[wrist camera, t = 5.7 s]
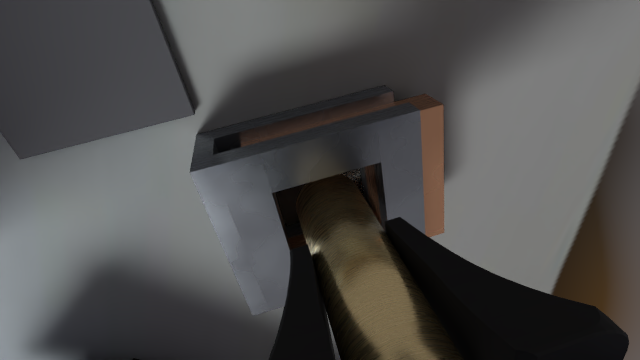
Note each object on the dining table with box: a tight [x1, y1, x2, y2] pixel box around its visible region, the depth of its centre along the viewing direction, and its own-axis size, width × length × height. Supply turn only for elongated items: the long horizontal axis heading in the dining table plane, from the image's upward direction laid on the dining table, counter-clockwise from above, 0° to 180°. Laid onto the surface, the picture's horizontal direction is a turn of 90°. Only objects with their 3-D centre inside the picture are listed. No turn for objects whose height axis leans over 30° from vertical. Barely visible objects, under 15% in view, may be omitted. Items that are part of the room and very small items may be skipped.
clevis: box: [190, 85, 444, 316], centre depth 17 cm, size 10×8×4 cm
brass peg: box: [296, 174, 464, 360], centre depth 13 cm, size 3×3×9 cm
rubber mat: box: [0, 0, 195, 159], centre depth 13 cm, size 7×7×1 cm
